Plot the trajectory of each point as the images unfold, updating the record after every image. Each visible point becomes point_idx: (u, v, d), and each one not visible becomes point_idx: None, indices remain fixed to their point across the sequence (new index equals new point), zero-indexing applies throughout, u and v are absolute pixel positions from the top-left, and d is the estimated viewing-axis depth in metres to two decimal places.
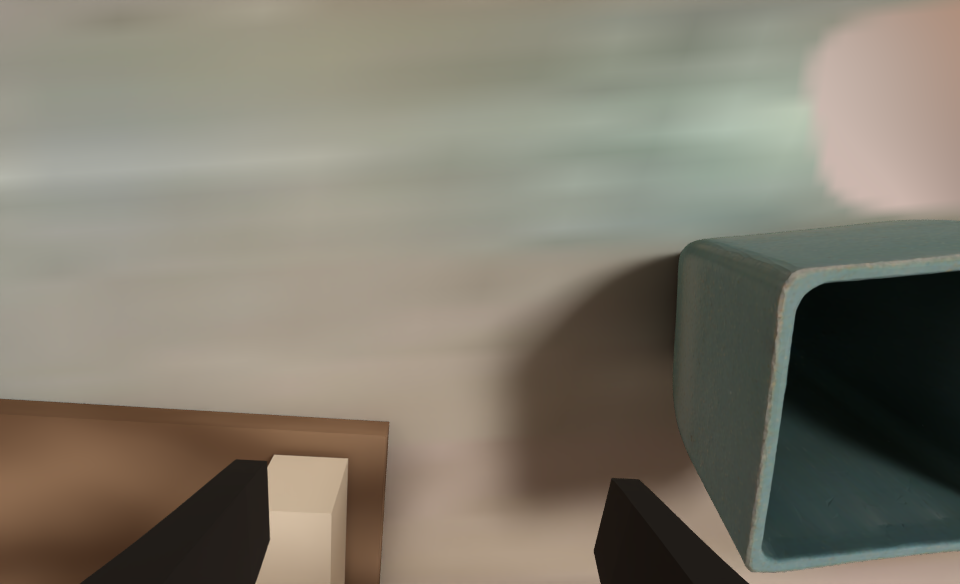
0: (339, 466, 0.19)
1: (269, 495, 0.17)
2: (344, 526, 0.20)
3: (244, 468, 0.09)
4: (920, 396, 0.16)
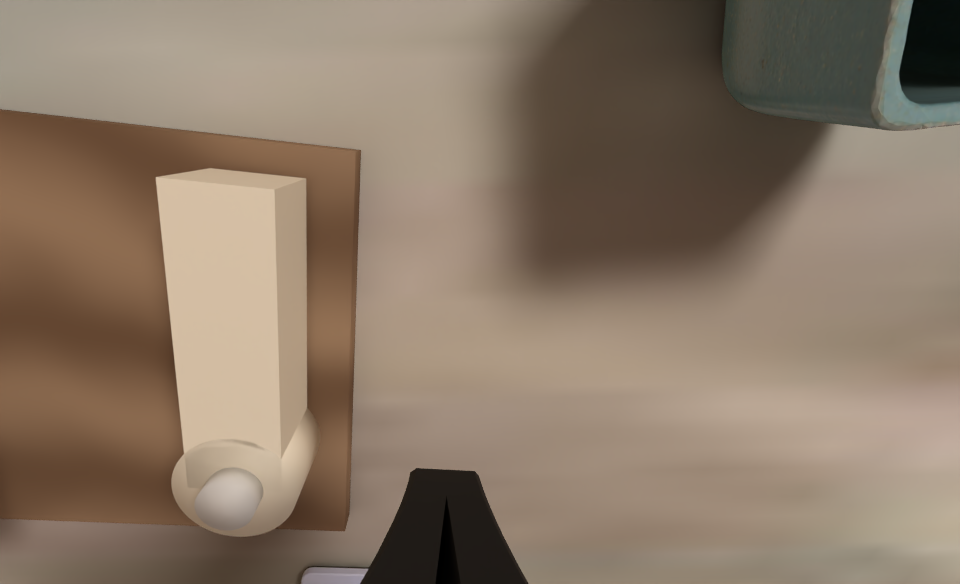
0: (293, 179, 0.15)
1: (193, 176, 0.13)
2: (303, 276, 0.16)
3: (431, 477, 0.09)
4: None
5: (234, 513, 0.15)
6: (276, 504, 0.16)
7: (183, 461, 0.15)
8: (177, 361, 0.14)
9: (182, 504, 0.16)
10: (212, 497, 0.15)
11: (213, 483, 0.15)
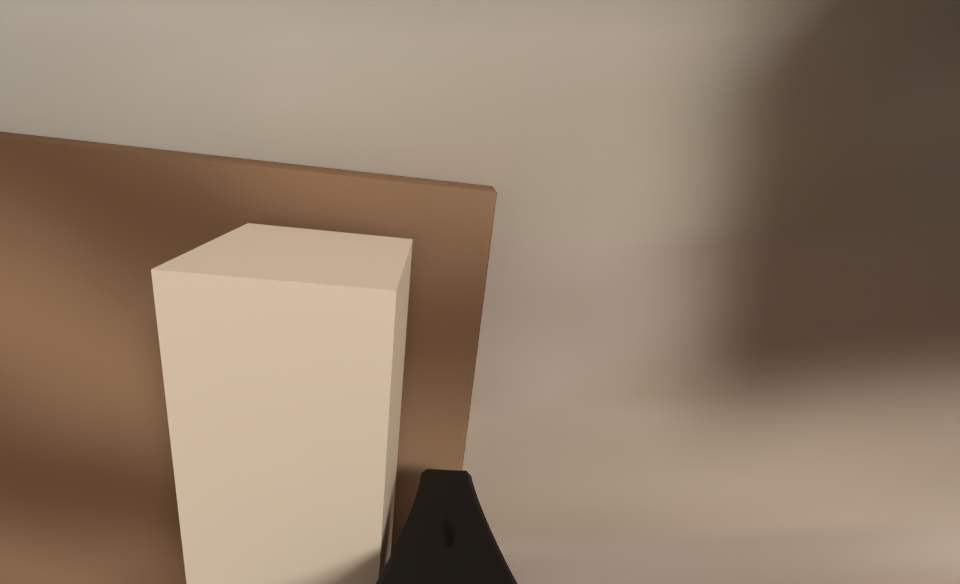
0: (396, 243, 0.08)
1: (226, 258, 0.07)
2: (400, 399, 0.10)
3: (442, 478, 0.09)
4: None
5: None
6: None
7: None
8: None
9: None
10: None
11: None
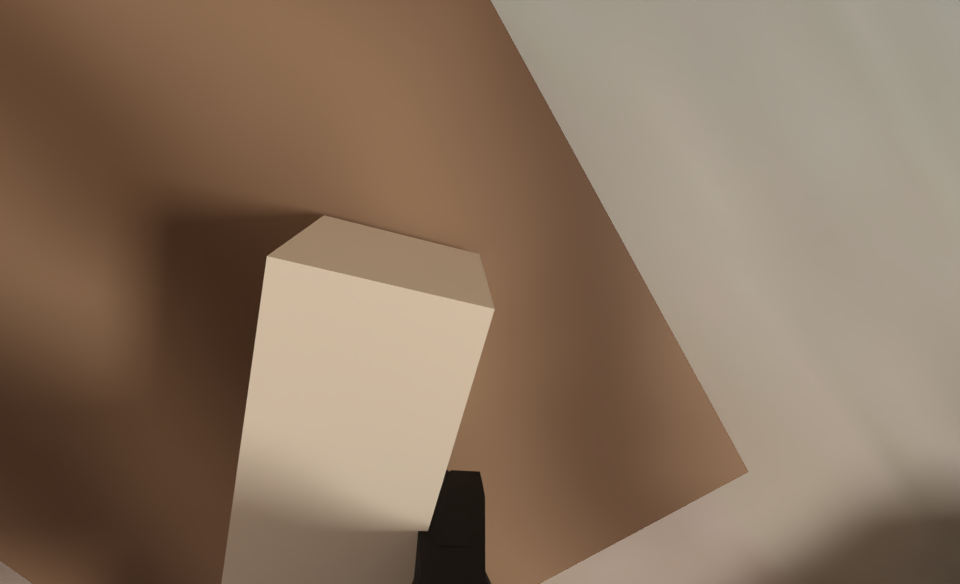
0: (468, 257, 0.09)
1: (327, 253, 0.07)
2: None
3: (467, 479, 0.09)
4: None
5: None
6: None
7: None
8: (227, 572, 0.08)
9: None
10: None
11: None
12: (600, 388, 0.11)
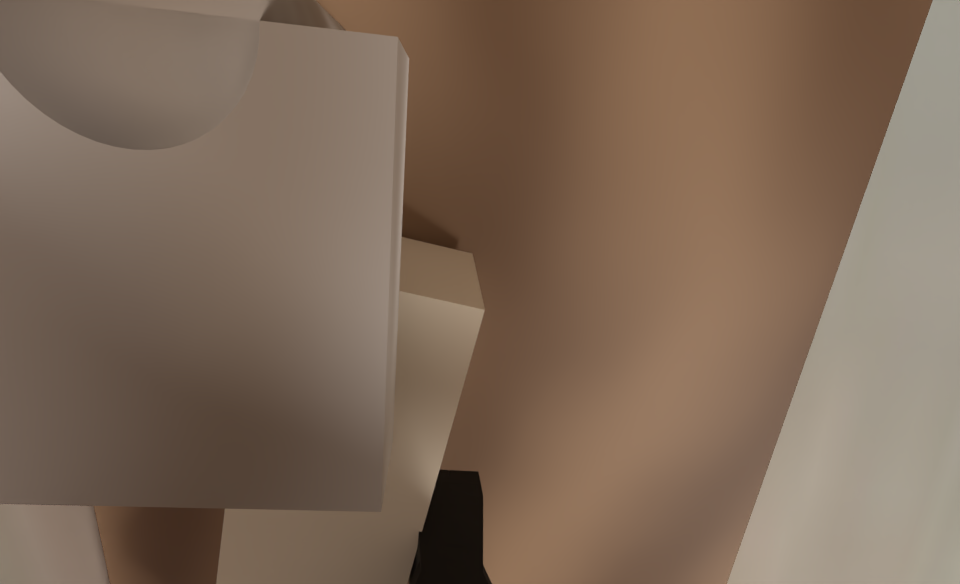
0: (460, 257, 0.09)
1: None
2: None
3: (465, 479, 0.09)
4: None
5: None
6: None
7: None
8: (222, 575, 0.08)
9: None
10: None
11: None
12: (662, 566, 0.13)
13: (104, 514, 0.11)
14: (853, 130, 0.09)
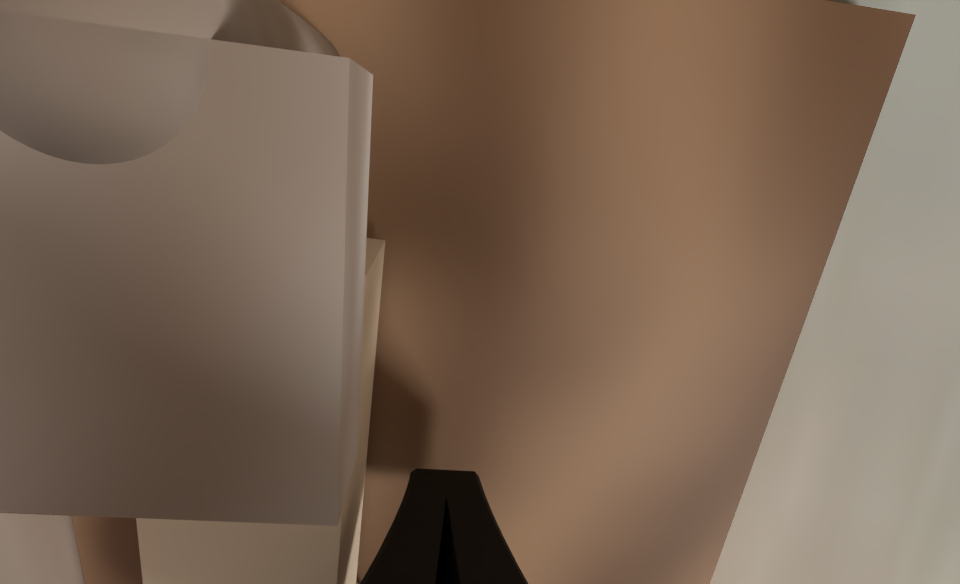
0: (367, 245, 0.08)
1: None
2: (369, 399, 0.10)
3: (431, 477, 0.09)
4: None
5: None
6: None
7: None
8: None
9: None
10: None
11: None
12: (640, 578, 0.13)
13: (80, 515, 0.11)
14: (833, 148, 0.09)
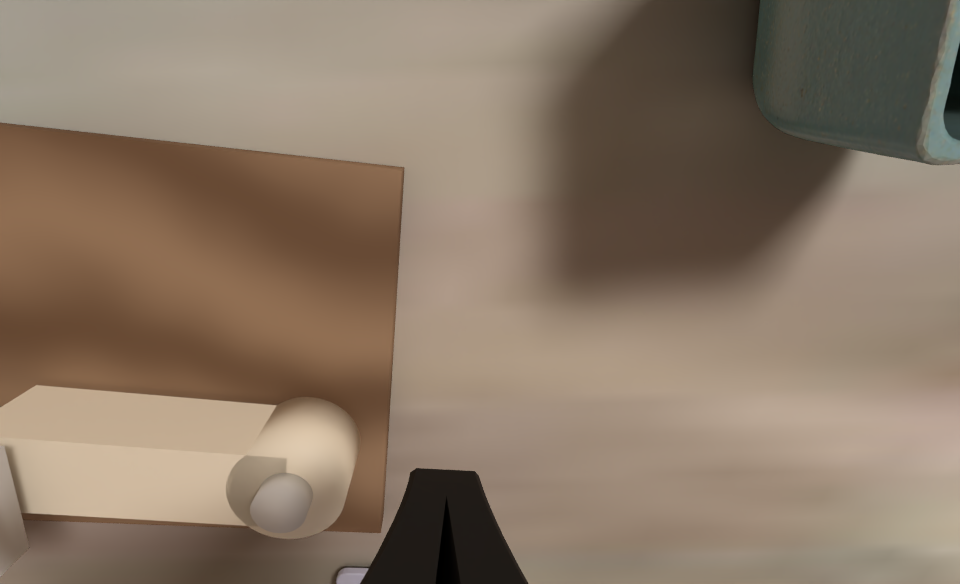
0: (25, 398, 0.17)
1: None
2: (122, 398, 0.18)
3: (431, 477, 0.09)
4: None
5: (284, 505, 0.16)
6: (302, 464, 0.16)
7: (255, 527, 0.17)
8: (147, 518, 0.16)
9: (305, 533, 0.17)
10: (265, 519, 0.16)
11: (253, 515, 0.16)
12: (273, 214, 0.16)
13: None
14: None
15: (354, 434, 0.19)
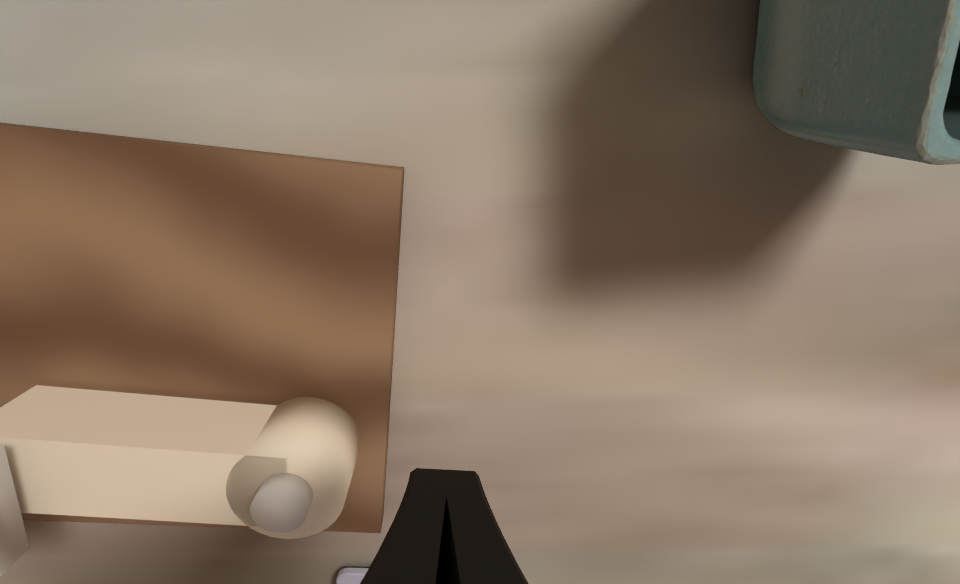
0: (25, 398, 0.17)
1: None
2: (122, 398, 0.18)
3: (431, 477, 0.09)
4: None
5: (284, 505, 0.16)
6: (302, 464, 0.16)
7: (255, 527, 0.17)
8: (147, 518, 0.16)
9: (305, 533, 0.17)
10: (265, 519, 0.16)
11: (253, 515, 0.16)
12: (273, 214, 0.16)
13: None
14: None
15: (354, 434, 0.19)
